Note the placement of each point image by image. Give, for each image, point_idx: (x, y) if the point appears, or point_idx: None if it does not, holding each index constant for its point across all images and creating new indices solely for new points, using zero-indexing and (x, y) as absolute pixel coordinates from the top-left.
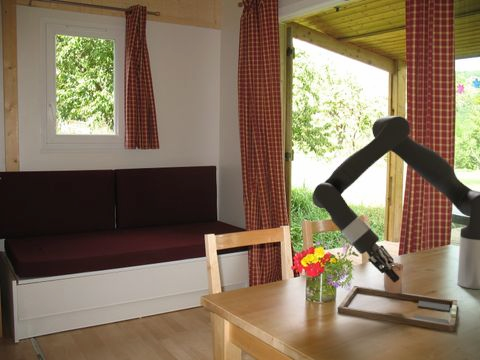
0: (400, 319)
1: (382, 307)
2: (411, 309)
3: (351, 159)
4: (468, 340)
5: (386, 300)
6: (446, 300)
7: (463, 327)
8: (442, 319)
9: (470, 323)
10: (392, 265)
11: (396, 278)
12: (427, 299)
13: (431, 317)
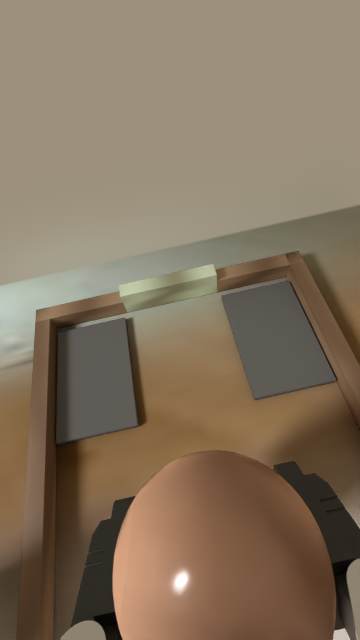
0: None
1: None
2: (181, 439)
3: None
4: (324, 225)
5: None
6: (49, 338)
7: (237, 257)
8: (230, 307)
9: (190, 253)
10: (254, 586)
11: (319, 480)
12: (51, 408)
13: (238, 339)
